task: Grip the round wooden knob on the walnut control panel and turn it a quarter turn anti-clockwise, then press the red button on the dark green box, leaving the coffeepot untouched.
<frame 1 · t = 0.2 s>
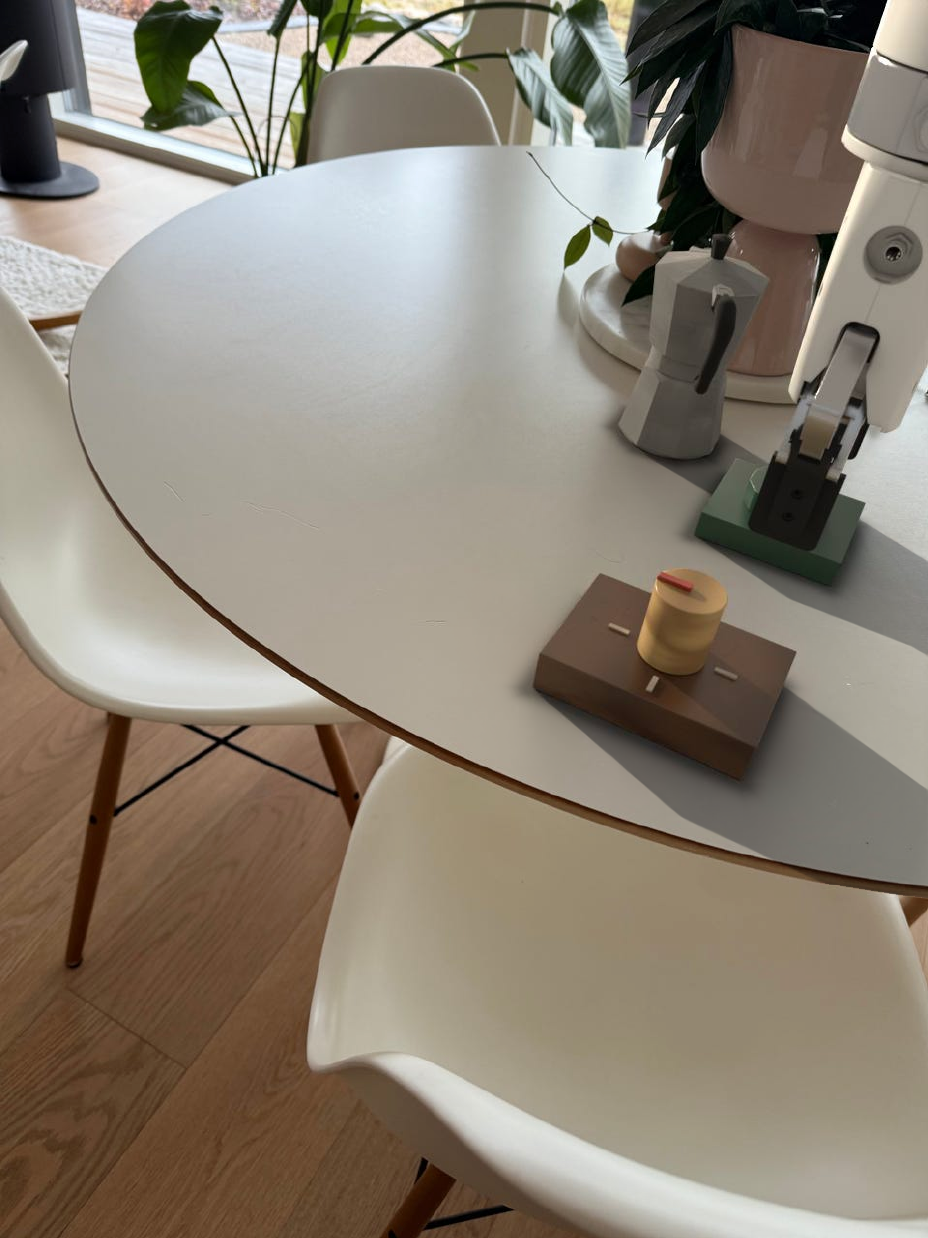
hand: (804, 490, 50), 19 cm above the table, tool pointing down, fingers open, 9 cm apart
button box: (776, 529, 81), on the table
dial: (681, 619, 62), point 6 cm above the table, hinge at 0.0°
panel: (659, 685, 65), on the table
coffeepot: (668, 441, 90), on the table
button: (794, 483, 78), point 4 cm above the table, slide at 0.1 cm
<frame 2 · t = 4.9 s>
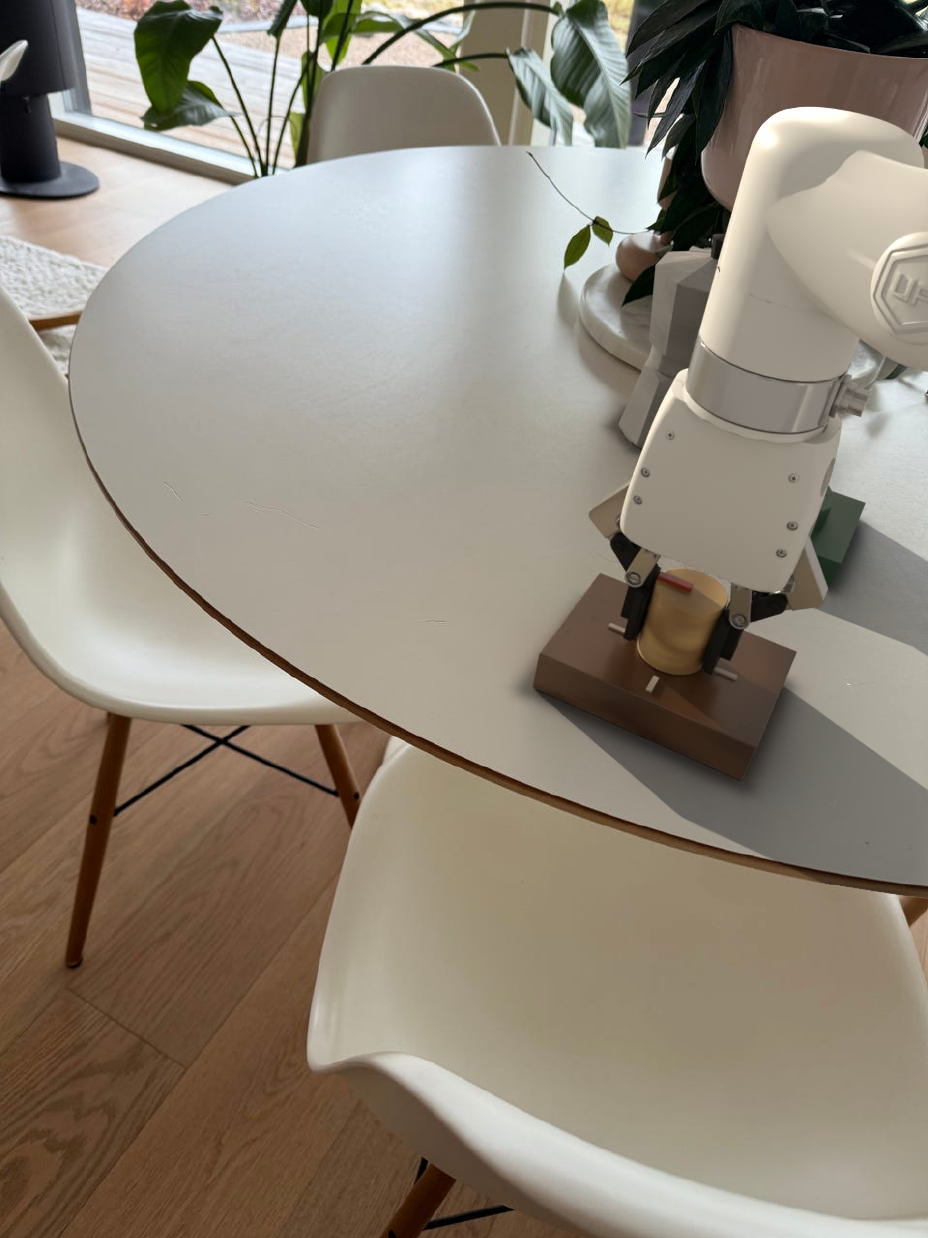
hand: (674, 642, 63), 4 cm above the table, tool pointing down, fingers closed on dial, 4 cm apart
dial: (681, 619, 62), point 6 cm above the table, hinge at 0.1°, touching gripper
everything else where it was.
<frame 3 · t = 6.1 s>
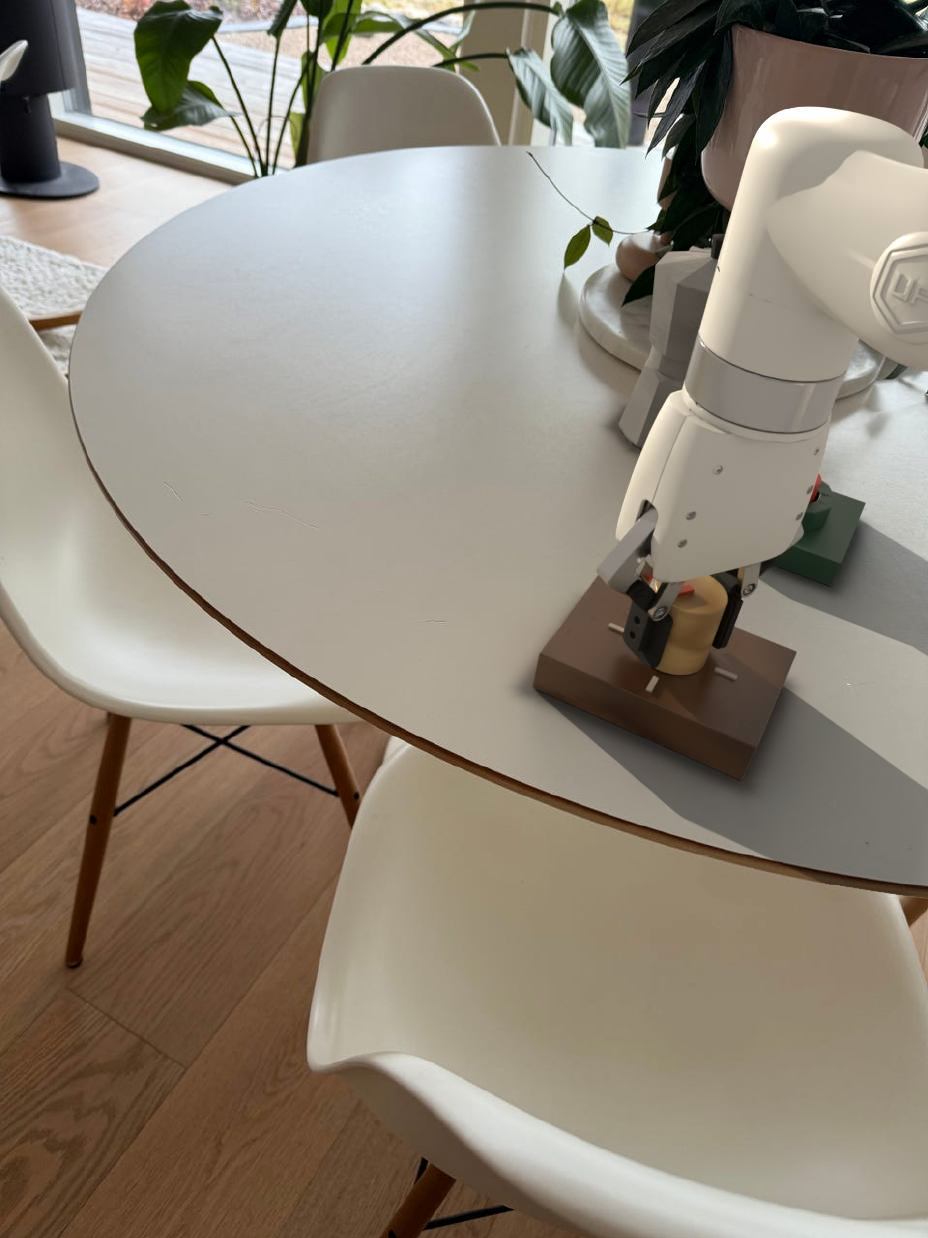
hand: (674, 641, 63), 4 cm above the table, tool pointing down, fingers closed on dial, 4 cm apart
dial: (681, 619, 62), point 6 cm above the table, hinge at 54.7°, touching gripper
everything else where it was.
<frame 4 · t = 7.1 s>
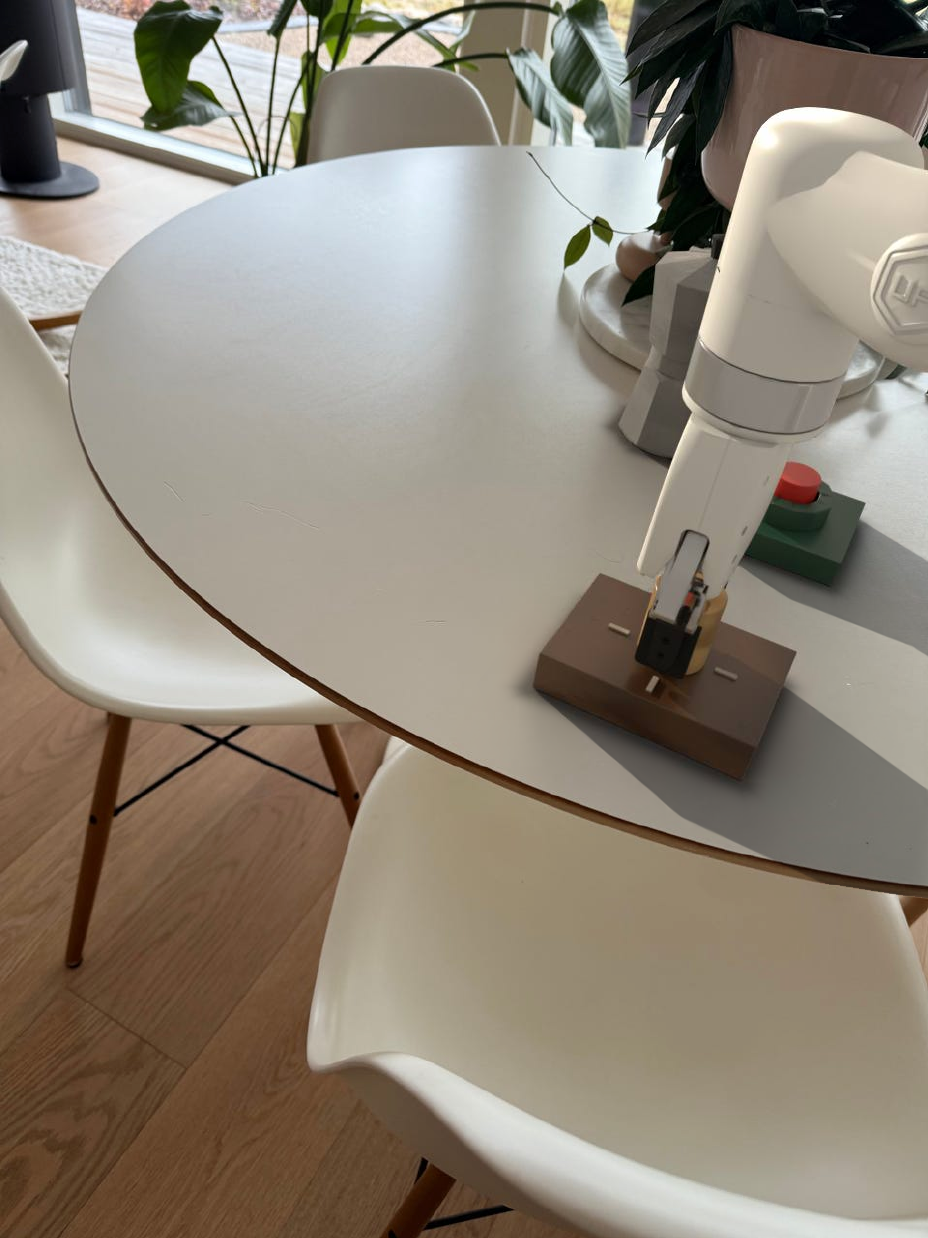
hand: (673, 642, 63), 4 cm above the table, tool pointing down, fingers closed on dial, 4 cm apart
dial: (681, 619, 62), point 6 cm above the table, hinge at 90.0°, touching gripper
everything else where it was.
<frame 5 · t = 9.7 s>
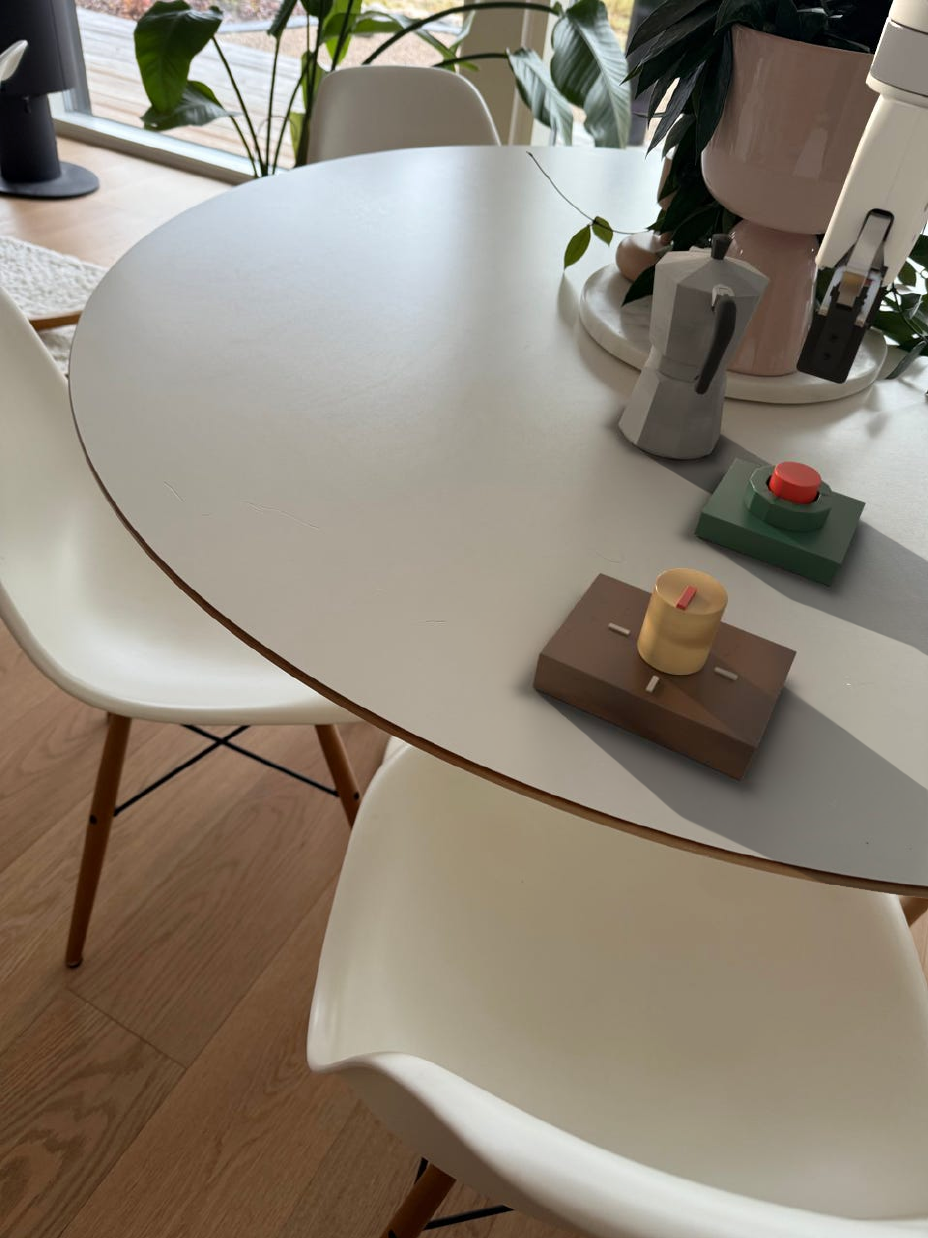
hand: (834, 348, 68), 17 cm above the table, tool pointing down, fingers open, 9 cm apart
dial: (681, 619, 62), point 6 cm above the table, hinge at 89.1°
everything else where it was.
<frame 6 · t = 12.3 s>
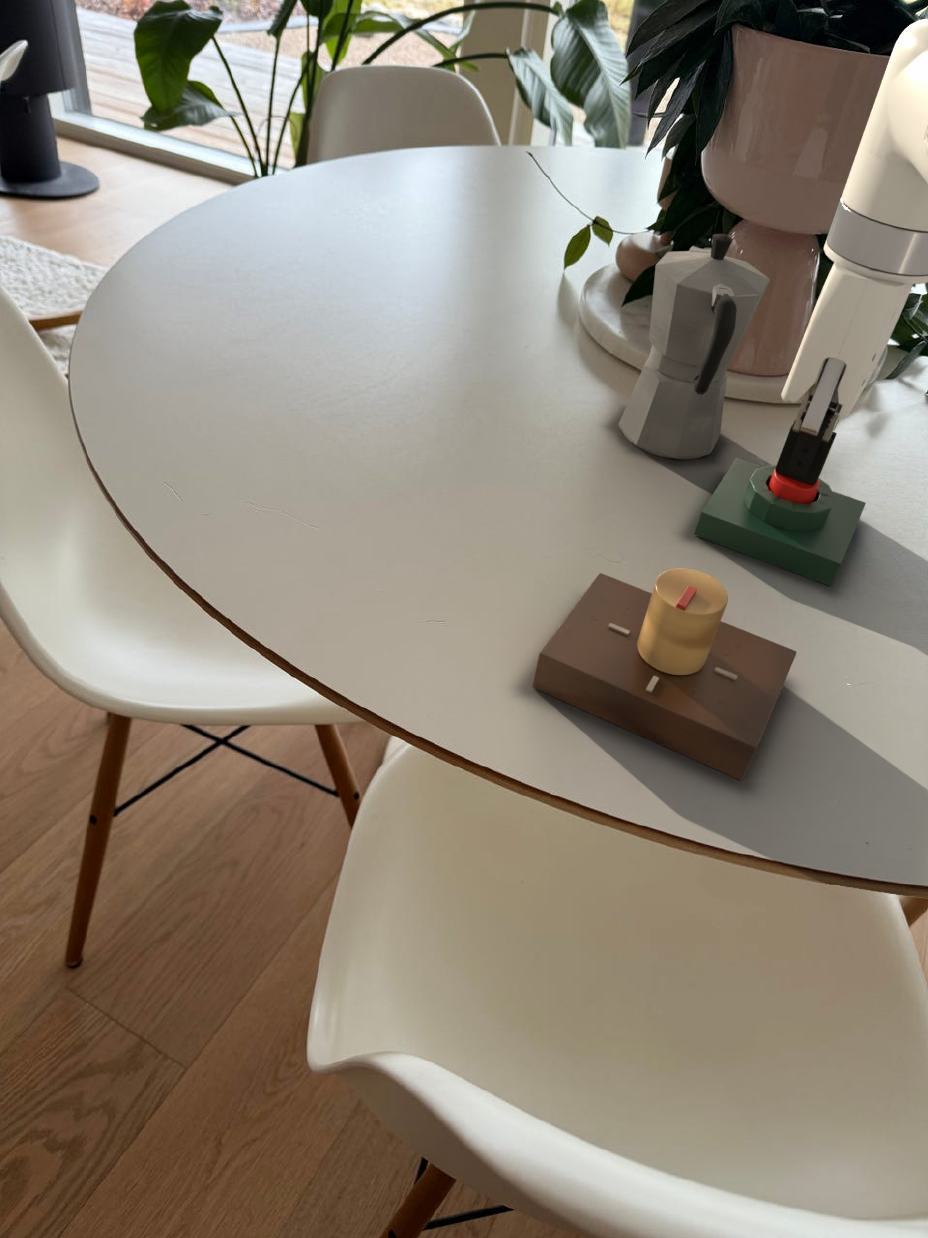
hand: (796, 474, 78), 5 cm above the table, tool pointing down, fingers closed
button: (793, 485, 78), point 4 cm above the table, slide at -0.2 cm, touching gripper
everything else where it was.
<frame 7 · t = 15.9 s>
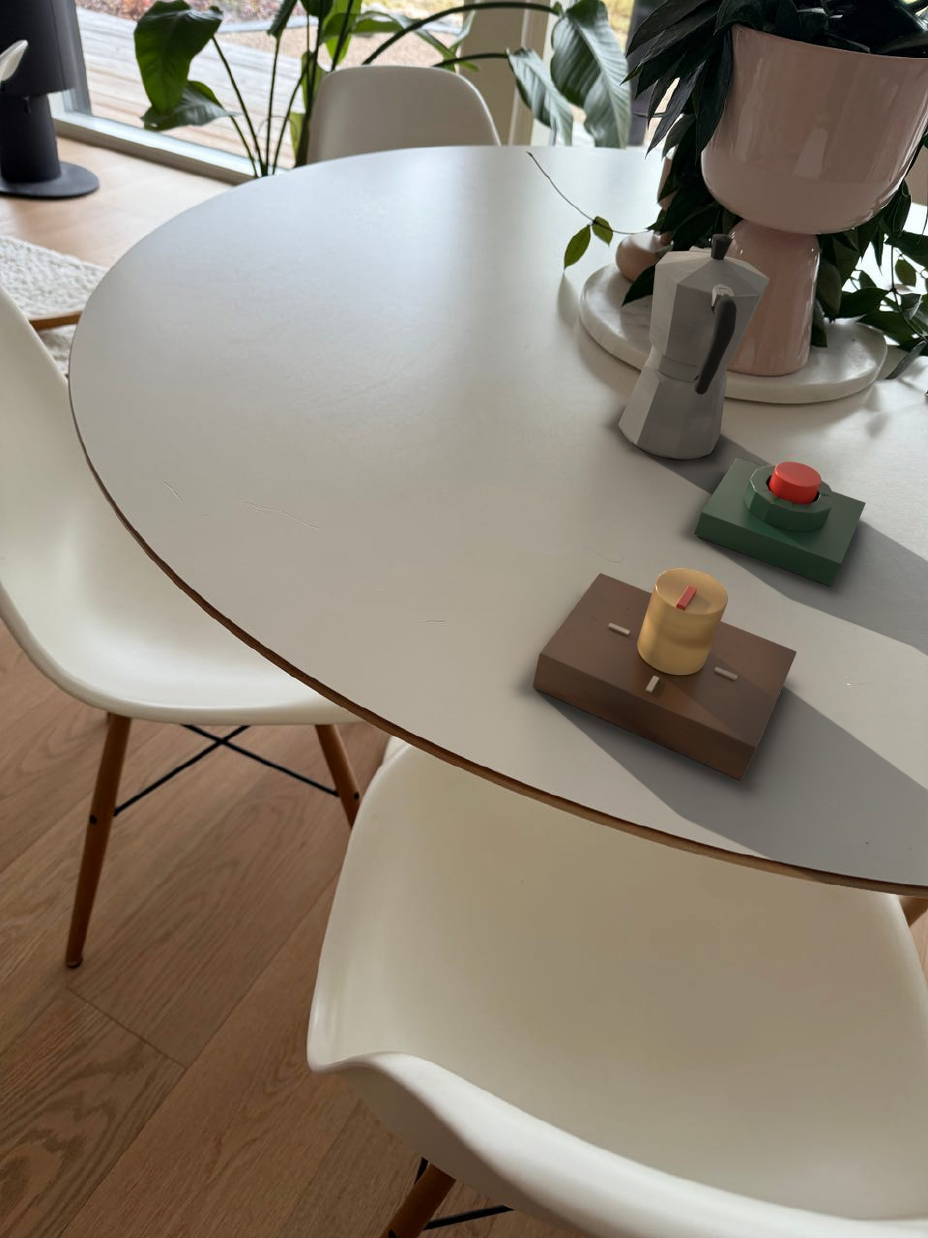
button: (794, 483, 78), point 4 cm above the table, slide at 0.1 cm
everything else where it was.
at the end: dial at +89° (first picture: +0°); button pushed in 1.1 cm at the most during the clip, back to where it started at the end; coffeepot moved 0.2 cm from its start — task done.
